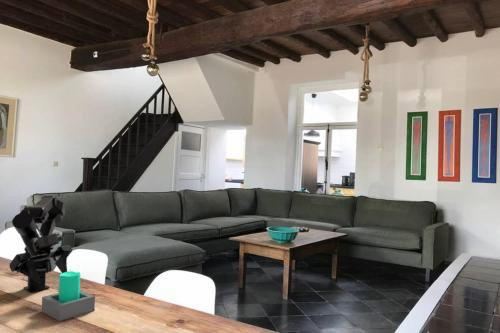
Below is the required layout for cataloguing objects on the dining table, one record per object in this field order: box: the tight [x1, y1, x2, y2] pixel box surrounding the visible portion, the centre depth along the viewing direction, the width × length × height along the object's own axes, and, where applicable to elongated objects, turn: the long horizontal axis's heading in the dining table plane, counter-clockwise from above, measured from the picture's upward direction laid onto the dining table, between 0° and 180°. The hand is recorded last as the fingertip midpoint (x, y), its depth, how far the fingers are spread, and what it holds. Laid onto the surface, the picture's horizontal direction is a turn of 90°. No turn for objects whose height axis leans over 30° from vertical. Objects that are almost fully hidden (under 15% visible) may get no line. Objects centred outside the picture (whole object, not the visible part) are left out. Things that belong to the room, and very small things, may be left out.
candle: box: [58, 270, 81, 303], centre depth 120 cm, size 6×6×12 cm
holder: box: [41, 289, 96, 322], centre depth 120 cm, size 11×11×4 cm
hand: (53, 278), depth 124 cm, fingers open, 9 cm apart
